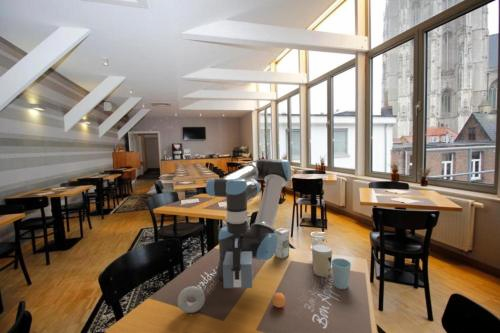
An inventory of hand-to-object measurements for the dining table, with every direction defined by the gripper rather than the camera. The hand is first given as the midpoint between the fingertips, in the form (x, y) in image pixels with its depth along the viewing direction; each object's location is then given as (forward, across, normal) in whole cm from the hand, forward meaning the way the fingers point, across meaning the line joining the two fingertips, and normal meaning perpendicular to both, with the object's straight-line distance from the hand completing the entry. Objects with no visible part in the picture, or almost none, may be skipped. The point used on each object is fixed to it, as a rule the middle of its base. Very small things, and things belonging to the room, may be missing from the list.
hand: (238, 278), depth 91 cm
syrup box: (+11, +41, -21) cm, 47 cm away
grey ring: (+12, -3, +18) cm, 21 cm away
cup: (+12, +13, -43) cm, 46 cm away
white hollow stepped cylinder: (+11, +36, -39) cm, 54 cm away
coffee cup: (+11, +24, -38) cm, 46 cm away
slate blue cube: (+1, 0, 0) cm, 1 cm away
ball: (+9, 0, -15) cm, 18 cm away
